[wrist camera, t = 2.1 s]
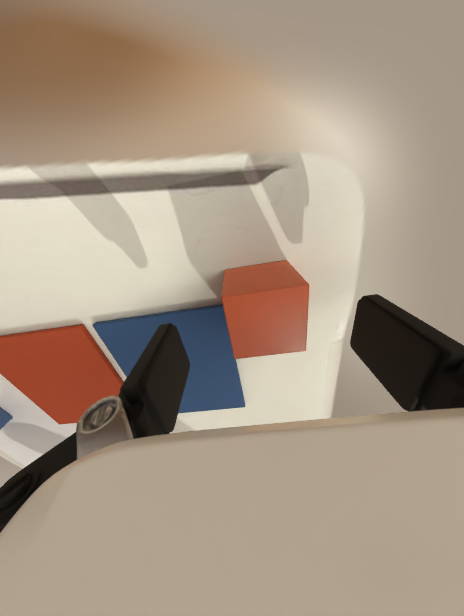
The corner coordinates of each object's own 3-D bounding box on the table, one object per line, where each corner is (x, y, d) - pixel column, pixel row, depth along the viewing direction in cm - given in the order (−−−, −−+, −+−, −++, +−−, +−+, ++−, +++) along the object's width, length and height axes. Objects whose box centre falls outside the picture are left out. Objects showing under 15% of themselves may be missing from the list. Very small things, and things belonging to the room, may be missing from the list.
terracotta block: (224, 269, 12) (220, 297, 8) (286, 259, 12) (309, 284, 8) (233, 320, 14) (234, 359, 10) (287, 313, 14) (306, 351, 10)
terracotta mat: (-30, 339, 15) (-36, 343, 15) (83, 323, 14) (79, 327, 14) (61, 420, 21) (59, 424, 21) (145, 412, 20) (143, 416, 20)
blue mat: (95, 322, 14) (92, 325, 14) (223, 303, 13) (223, 306, 13) (153, 412, 20) (152, 415, 20) (244, 403, 19) (245, 407, 19)
